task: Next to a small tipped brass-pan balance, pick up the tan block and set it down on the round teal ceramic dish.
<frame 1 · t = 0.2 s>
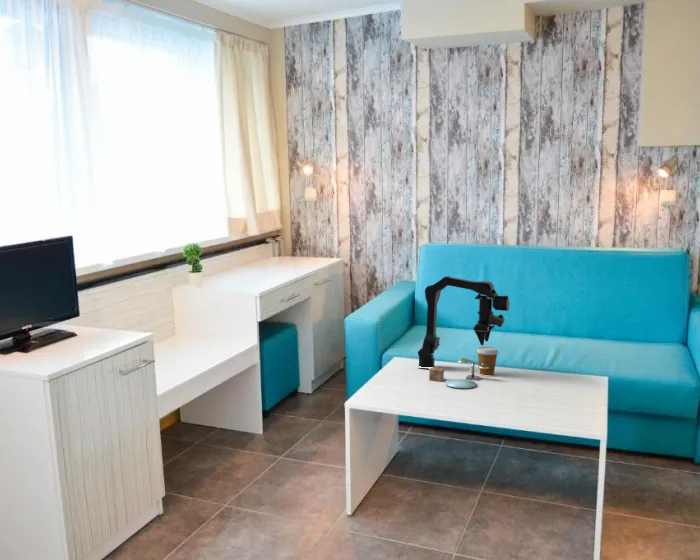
hand: (484, 343, 304), 14 cm above the table, fingers open, 9 cm apart
teal dish: (460, 385, 288), on the table
disposable coffee cup: (486, 374, 306), on the table
tan block: (436, 380, 296), on the table
balance: (472, 378, 299), on the table
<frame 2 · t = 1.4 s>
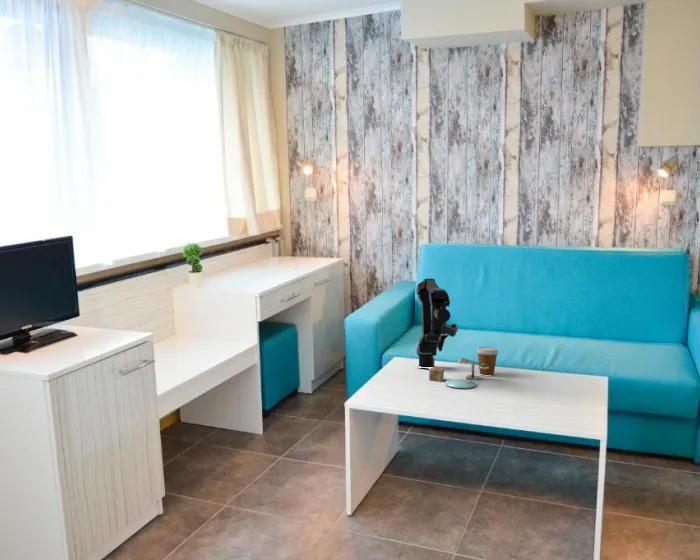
hand: (437, 353, 295), 12 cm above the table, fingers open, 9 cm apart
nothing on the table moved.
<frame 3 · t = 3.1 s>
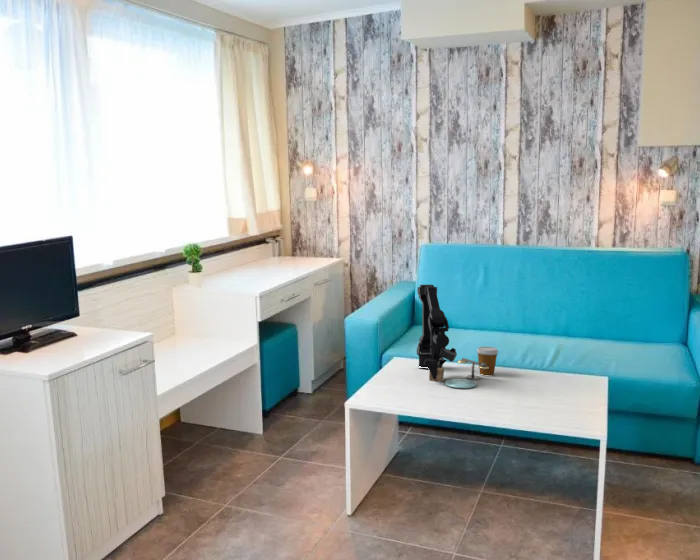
hand: (436, 377, 296), 1 cm above the table, fingers closed on tan block, 5 cm apart
tan block: (436, 379, 296), on the table, touching gripper
everything else where it was.
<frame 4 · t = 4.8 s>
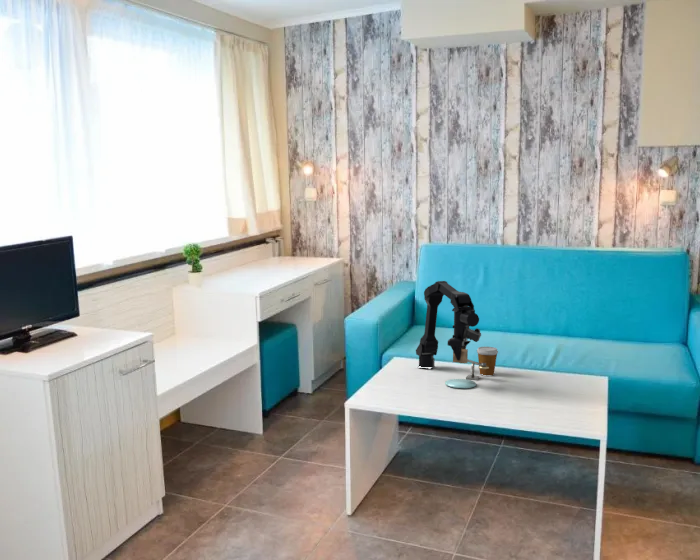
hand: (460, 359, 286), 11 cm above the table, fingers closed on tan block, 5 cm apart
tan block: (460, 361, 286), point 10 cm above the table, touching gripper
everything else where it was.
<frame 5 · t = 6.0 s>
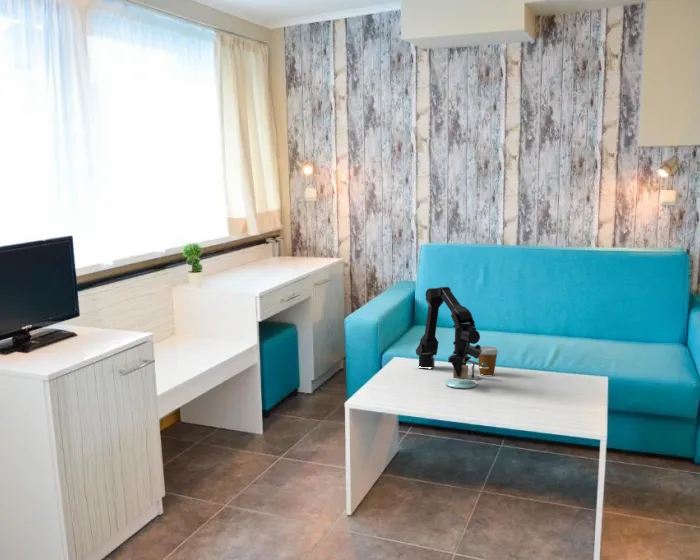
hand: (460, 375, 287), 4 cm above the table, fingers closed on tan block, 5 cm apart
tan block: (460, 377, 287), point 3 cm above the table, touching gripper
everything else where it was.
when the fingers open (3 cm above the table, at t = 6.7 s): tan block stays where it is, resting on teal dish.
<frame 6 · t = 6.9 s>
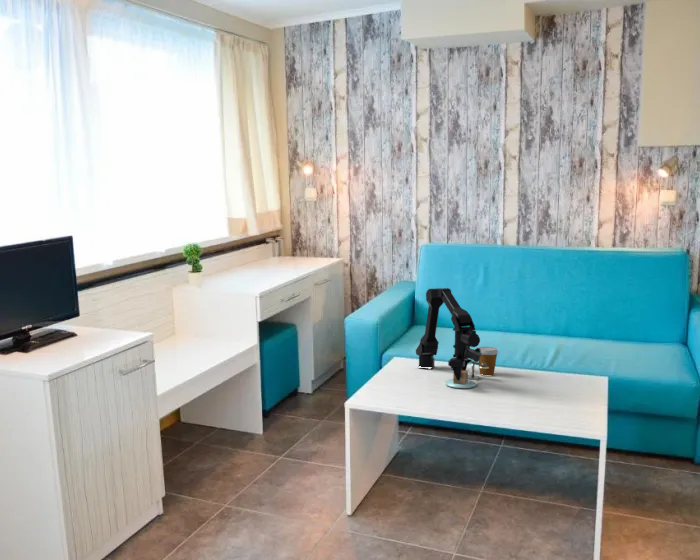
hand: (460, 378, 287), 3 cm above the table, fingers open, 7 cm apart
tan block: (460, 382, 287), point 1 cm above the table, touching teal dish
everything else where it was.
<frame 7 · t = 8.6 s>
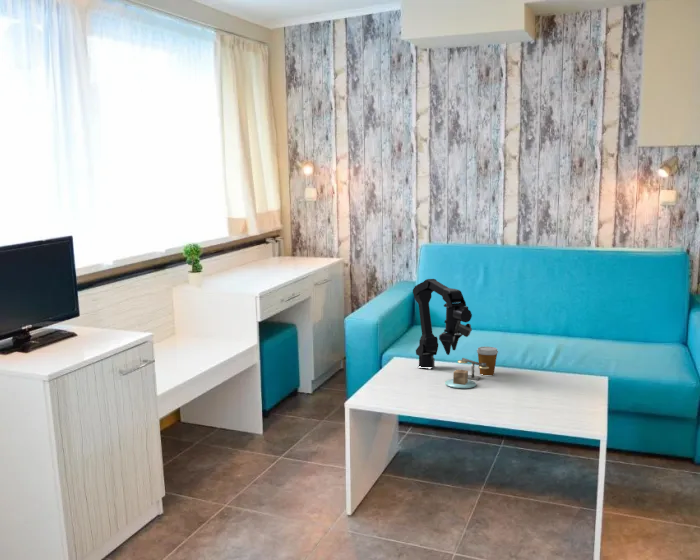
hand: (451, 352, 299), 11 cm above the table, fingers open, 9 cm apart
nothing on the table moved.
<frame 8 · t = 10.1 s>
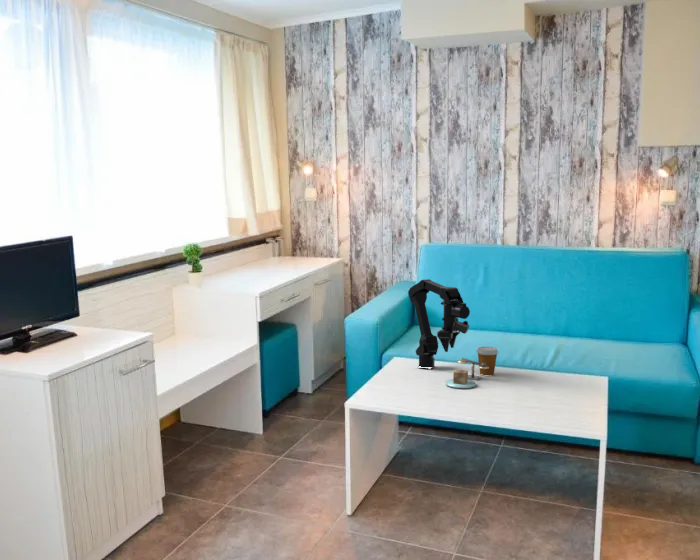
hand: (449, 349, 302), 12 cm above the table, fingers open, 9 cm apart
nothing on the table moved.
at the end: tan block inside the target area on the teal dish (0.0 cm from its centre), point 1.0 cm above the teal dish's base; tan block tilted 0°; the gripper is holding nothing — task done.
